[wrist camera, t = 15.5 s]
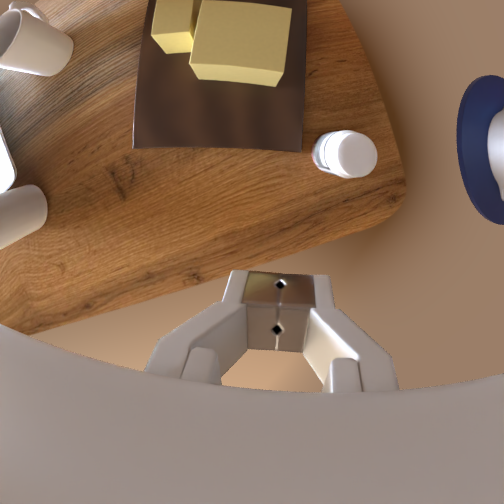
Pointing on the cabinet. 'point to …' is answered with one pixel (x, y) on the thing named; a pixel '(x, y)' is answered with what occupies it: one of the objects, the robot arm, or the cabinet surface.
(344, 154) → the pill bottle
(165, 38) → the butter slice
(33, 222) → the beverage can
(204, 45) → the butter block
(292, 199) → the cabinet surface
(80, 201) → the cabinet surface
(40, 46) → the mug
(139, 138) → the butter board
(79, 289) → the cabinet surface
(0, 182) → the plate
